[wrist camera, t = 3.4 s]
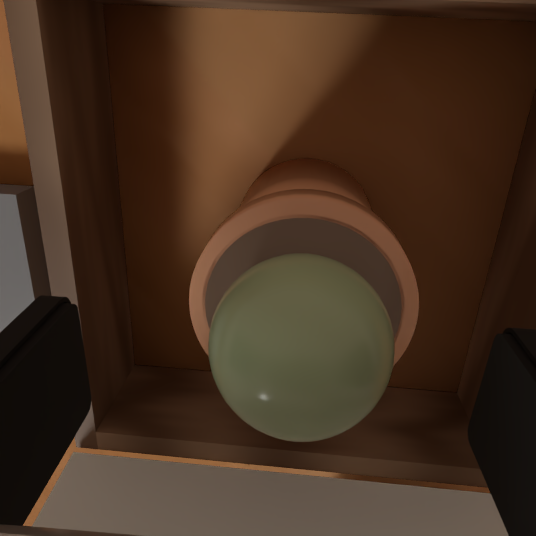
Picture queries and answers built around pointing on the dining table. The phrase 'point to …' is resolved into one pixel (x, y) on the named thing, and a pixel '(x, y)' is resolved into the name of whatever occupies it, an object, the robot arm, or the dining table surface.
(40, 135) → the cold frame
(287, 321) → the terracotta pot
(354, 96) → the dining table surface
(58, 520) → the frame lid
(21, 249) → the slate tile
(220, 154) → the dining table surface
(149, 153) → the dining table surface
